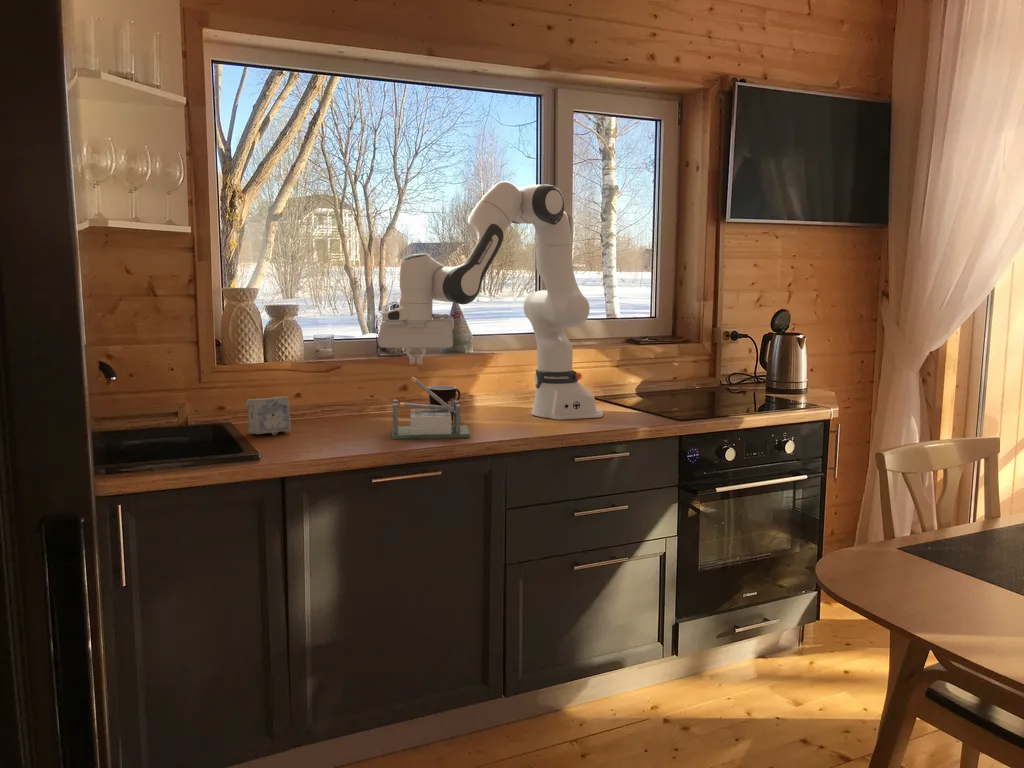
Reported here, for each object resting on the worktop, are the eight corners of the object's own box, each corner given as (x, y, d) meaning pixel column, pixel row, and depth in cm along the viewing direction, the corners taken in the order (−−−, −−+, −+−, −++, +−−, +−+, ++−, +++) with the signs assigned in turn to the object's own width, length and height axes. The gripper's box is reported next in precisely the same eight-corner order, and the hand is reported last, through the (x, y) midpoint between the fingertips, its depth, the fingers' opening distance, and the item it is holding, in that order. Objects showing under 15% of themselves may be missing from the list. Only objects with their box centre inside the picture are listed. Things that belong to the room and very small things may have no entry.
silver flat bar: (450, 408, 231) (450, 405, 231) (450, 410, 228) (451, 407, 228) (400, 404, 229) (400, 402, 229) (399, 406, 226) (400, 404, 226)
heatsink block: (466, 428, 234) (466, 397, 233) (469, 437, 222) (469, 405, 221) (393, 429, 231) (392, 398, 230) (392, 438, 220) (391, 406, 218)
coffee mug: (434, 423, 241) (434, 390, 239) (424, 418, 248) (423, 386, 247) (470, 420, 246) (470, 388, 244) (459, 415, 253) (458, 384, 252)
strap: (451, 410, 225) (453, 408, 225) (451, 412, 222) (453, 410, 222) (411, 378, 222) (413, 376, 222) (411, 380, 219) (413, 377, 219)
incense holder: (280, 429, 231) (279, 393, 230) (292, 434, 225) (290, 397, 223) (246, 433, 225) (244, 396, 224) (257, 438, 219) (255, 400, 217)
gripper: (454, 313, 225) (453, 363, 227) (379, 312, 222) (379, 362, 224) (454, 314, 218) (454, 365, 220) (377, 313, 216) (378, 365, 218)
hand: (415, 364), depth 222 cm, fingers closed
